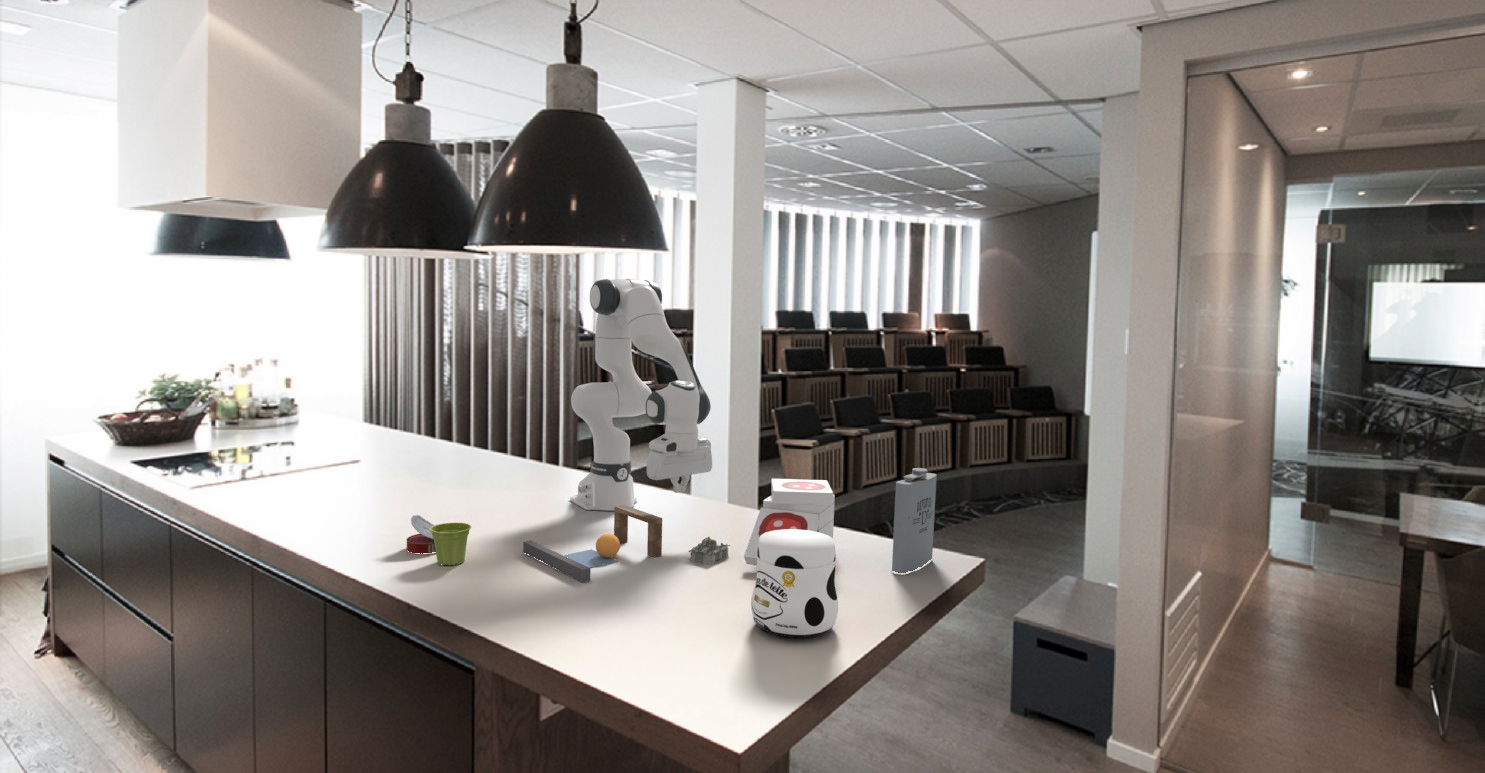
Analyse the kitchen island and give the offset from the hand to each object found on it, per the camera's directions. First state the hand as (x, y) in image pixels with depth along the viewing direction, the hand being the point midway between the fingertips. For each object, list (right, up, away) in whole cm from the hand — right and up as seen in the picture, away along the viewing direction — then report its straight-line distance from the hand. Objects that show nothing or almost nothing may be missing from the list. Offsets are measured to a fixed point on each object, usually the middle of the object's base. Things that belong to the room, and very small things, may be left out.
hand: (679, 491), depth 221 cm
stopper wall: (-28, -15, -25) cm, 40 cm away
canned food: (-63, -13, -14) cm, 66 cm away
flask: (+60, -17, -17) cm, 65 cm away
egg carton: (+9, -15, -14) cm, 22 cm away
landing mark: (-22, -14, -20) cm, 33 cm away
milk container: (+27, -20, -58) cm, 67 cm away
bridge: (-10, -14, -9) cm, 19 cm away
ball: (-17, -11, -17) cm, 26 cm away
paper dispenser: (+30, -16, -14) cm, 36 cm away
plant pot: (-53, -14, -24) cm, 60 cm away
